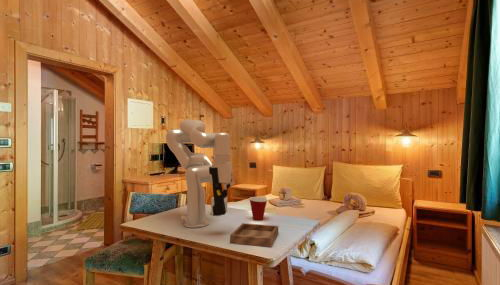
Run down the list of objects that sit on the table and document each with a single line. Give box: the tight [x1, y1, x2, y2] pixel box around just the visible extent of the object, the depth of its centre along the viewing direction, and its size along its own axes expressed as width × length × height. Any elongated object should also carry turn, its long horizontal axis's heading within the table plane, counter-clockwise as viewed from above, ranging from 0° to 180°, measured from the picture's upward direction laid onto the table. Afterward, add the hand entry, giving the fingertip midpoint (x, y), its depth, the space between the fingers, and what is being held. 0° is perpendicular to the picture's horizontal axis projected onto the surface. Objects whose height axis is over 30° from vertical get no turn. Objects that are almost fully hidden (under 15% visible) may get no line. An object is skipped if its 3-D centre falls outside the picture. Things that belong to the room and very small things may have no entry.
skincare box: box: [210, 196, 228, 216], centre depth 164 cm, size 10×6×10 cm, turn 159°
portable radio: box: [209, 167, 227, 217], centre depth 125 cm, size 8×6×25 cm
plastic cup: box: [248, 196, 269, 222], centre depth 150 cm, size 11×11×12 cm
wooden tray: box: [229, 222, 279, 248], centre depth 119 cm, size 18×18×4 cm
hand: (221, 197), depth 124 cm, fingers closed on portable radio, 2 cm apart
